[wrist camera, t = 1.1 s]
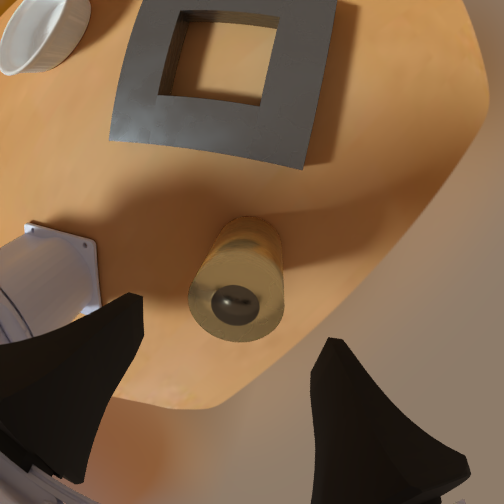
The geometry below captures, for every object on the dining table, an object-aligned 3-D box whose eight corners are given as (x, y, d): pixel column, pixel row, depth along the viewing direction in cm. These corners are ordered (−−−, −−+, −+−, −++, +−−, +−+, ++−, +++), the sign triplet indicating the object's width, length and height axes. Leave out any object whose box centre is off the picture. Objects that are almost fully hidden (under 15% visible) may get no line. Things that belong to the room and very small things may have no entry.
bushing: (213, 269, 19) (185, 331, 13) (222, 210, 18) (192, 252, 11) (273, 282, 19) (271, 350, 13) (288, 224, 18) (295, 274, 11)
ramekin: (116, 4, 12) (86, -15, 8) (54, 92, 15) (17, 91, 11) (68, -14, 10) (42, -27, 6) (18, 60, 13) (-12, 58, 9)
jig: (124, 139, 16) (108, 140, 14) (161, -8, 11) (150, -19, 10) (299, 167, 16) (302, 170, 14) (332, 7, 11) (338, -6, 10)
